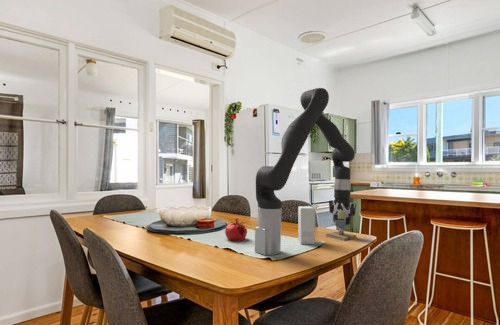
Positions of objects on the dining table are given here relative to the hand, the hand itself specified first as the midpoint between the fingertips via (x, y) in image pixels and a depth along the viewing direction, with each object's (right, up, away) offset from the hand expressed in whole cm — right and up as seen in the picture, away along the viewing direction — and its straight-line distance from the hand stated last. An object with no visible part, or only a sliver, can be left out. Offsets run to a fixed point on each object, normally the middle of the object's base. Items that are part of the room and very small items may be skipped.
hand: (341, 223), depth 148 cm
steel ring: (0, -1, 0) cm, 1 cm away
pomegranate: (-50, -6, -9) cm, 52 cm away
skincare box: (-19, -6, -11) cm, 23 cm away
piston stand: (0, -7, 0) cm, 7 cm away
